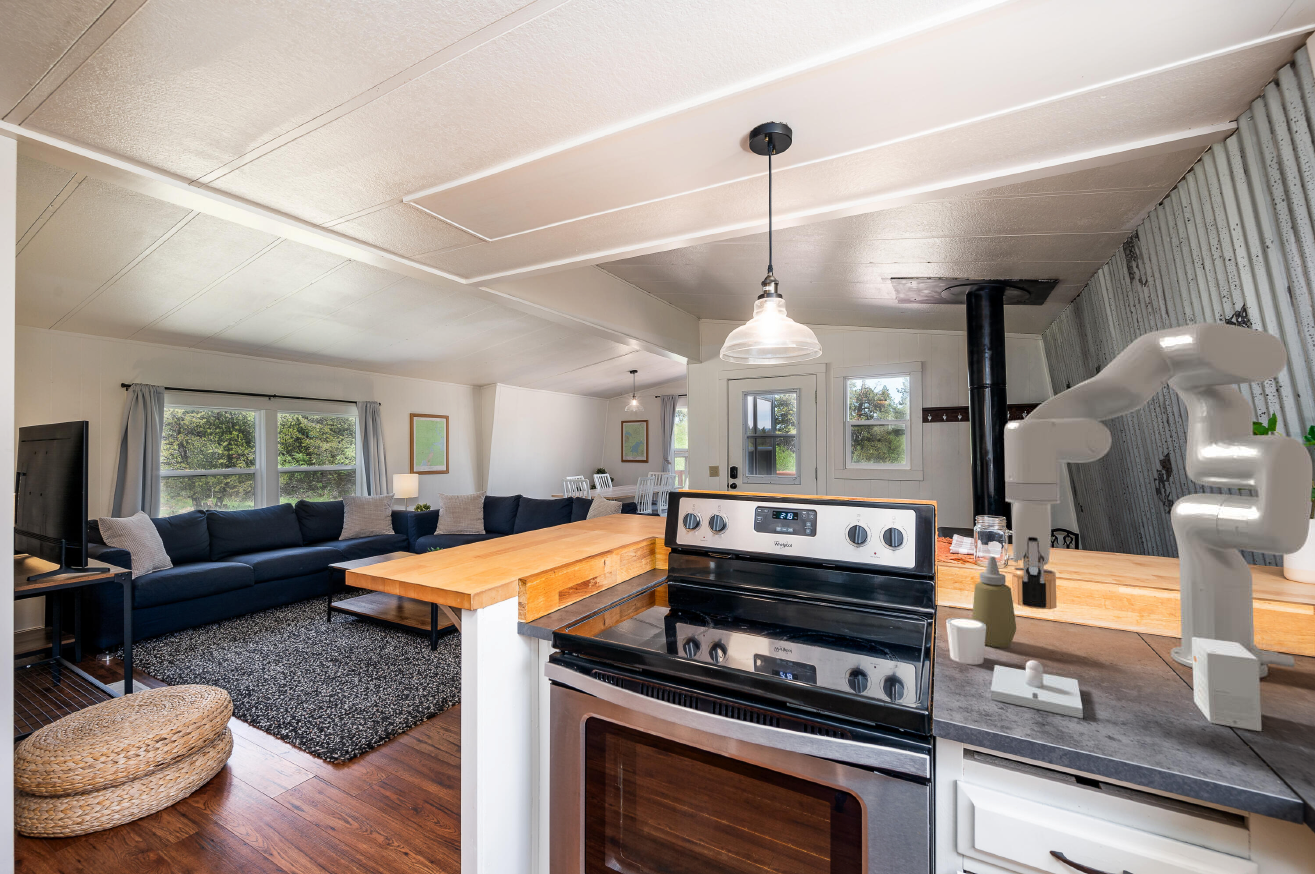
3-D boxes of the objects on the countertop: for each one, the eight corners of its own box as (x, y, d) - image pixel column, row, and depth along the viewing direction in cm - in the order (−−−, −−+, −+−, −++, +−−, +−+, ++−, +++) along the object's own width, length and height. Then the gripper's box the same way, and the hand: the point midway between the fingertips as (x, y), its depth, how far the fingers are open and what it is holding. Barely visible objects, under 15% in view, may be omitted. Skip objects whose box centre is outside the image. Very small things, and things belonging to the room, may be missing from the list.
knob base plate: (1077, 688, 95) (1076, 656, 95) (1082, 718, 85) (1081, 682, 85) (995, 673, 101) (994, 642, 101) (991, 699, 91) (990, 665, 91)
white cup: (992, 666, 104) (991, 629, 104) (953, 664, 105) (952, 627, 106) (979, 652, 111) (978, 617, 111) (942, 651, 112) (941, 616, 112)
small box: (1262, 733, 80) (1260, 659, 80) (1208, 723, 82) (1206, 652, 83) (1241, 709, 86) (1239, 641, 86) (1193, 701, 89) (1191, 635, 89)
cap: (1055, 601, 94) (1054, 568, 94) (1057, 611, 89) (1056, 575, 89) (1013, 596, 97) (1012, 564, 97) (1012, 605, 92) (1011, 571, 92)
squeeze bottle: (1026, 650, 112) (1024, 560, 112) (985, 650, 112) (983, 561, 112) (1001, 636, 120) (999, 552, 120) (964, 636, 120) (962, 553, 120)
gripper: (1007, 488, 102) (1009, 586, 102) (1003, 497, 88) (1005, 611, 88) (1057, 489, 98) (1059, 592, 98) (1062, 499, 84) (1064, 618, 84)
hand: (1034, 600), depth 93 cm, fingers closed on cap, 6 cm apart
